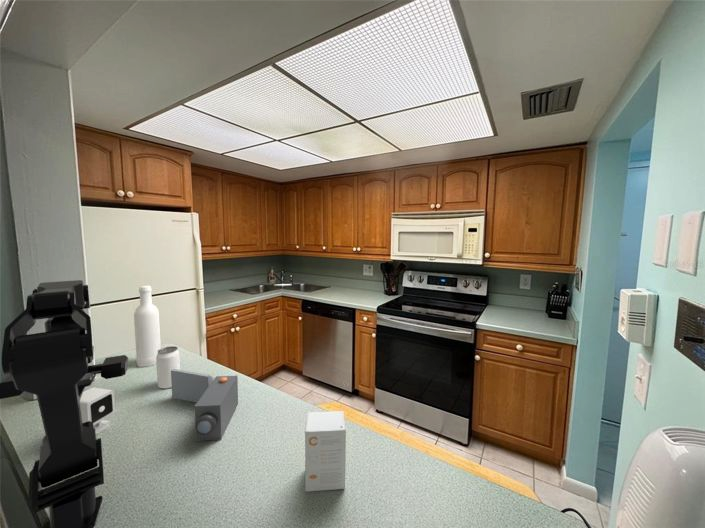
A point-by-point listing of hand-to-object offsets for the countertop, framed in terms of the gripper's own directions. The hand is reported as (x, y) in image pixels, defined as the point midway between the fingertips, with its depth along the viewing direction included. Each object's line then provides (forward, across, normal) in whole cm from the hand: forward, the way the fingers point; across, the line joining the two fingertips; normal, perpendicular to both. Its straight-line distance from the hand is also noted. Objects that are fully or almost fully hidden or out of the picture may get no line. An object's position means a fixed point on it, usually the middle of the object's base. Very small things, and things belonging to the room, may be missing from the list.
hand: (73, 412), depth 60 cm
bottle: (+13, -9, -52) cm, 54 cm away
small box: (+13, -45, +29) cm, 55 cm away
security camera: (+13, 0, -13) cm, 18 cm away
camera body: (+13, -27, -1) cm, 30 cm away
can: (+13, -16, -30) cm, 36 cm away
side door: (+12, -22, -16) cm, 30 cm away
